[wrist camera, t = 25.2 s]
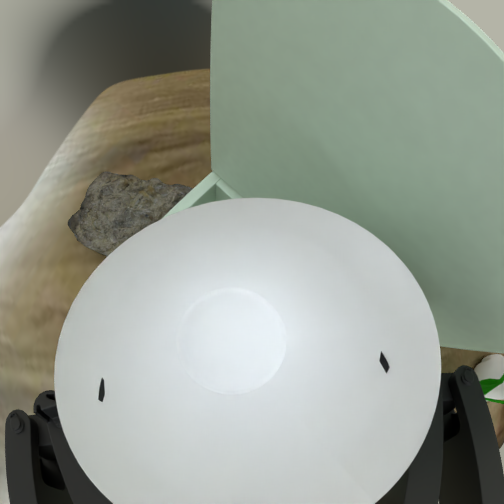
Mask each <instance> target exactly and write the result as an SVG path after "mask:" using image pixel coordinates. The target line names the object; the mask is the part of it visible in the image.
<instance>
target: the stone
mask: <svg viewBox="0 0 504 504" xmlns="http://www.w3.org/2000/svg"><path fill="white" fill-rule="evenodd" d="M191 190H192V188H190V187H186V186H184V185H181V184H174V185H166V184H163V183H162V182H161V181H160V180H159V179H158V178H153V179H150V180H148V181H144V180H140V179H138V178H137V177H136V176H134V175H118V174H113V173H111V172H103V173H101V174H100V175H99V176H98V177H97V178H96V179H95V180H94V181H93V182H92V184H91V185H90V186H89V188H88V190H87V192H86V196H85V199H84V201H83V202H82V204H81V208H80V210H78V211H77V212H76V213H75V214H74V215H72V217H71V218H70V219H69V221H68V226H69V227H70V229H71V230H72V231H73V233H74V234H75V236H76V238H77V240H78V241H79V242H81V243H82V244H83V245H84V246H86V247H88V248H90V249H92V250H95V251H96V252H98V253H100V254H103V255H106V256H107V257H108V256H109V255H110V254H111V253H112V252H113V251H114V250H115V249H116V248H118V247H119V246H120V245H121V244H122V243H124V242H125V241H126V240H127V239H129V238H130V237H132V236H133V235H135V234H136V233H138V232H139V231H141V230H142V229H144V228H146V227H147V226H149V225H151V224H153V223H155V222H157V221H159V220H161V219H162V218H163V217H164V216H165V215H166V214H167V213H168V212H169V211H170V210H171V209H172V208H173V207H174V206H175V205H176V204H177V203H178V202H180V201H181V200H182V199H183V198H184V197H185V196H186V195H187V194H188V193H189V192H190V191H191Z"/></svg>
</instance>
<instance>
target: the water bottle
mask: <svg viewBox="0 0 504 504" xmlns="http://www.w3.org/2000/svg"><path fill="white" fill-rule="evenodd" d="M474 371H475V373H476V374H477V376H478V379H479V381H481V380H484V379H489V378H491V379H500V378H501V377H502V375H503V374H504V357H503V356H502V355H500V354H493V355H489V356H486V357H485V358H483V359H482V362H481V363H480V364H478V365H477V366H476V367H475V369H474ZM484 396H485V398H490V399H495V400H497V399H504V381H503V383H502V384H500V385H499V386H497V387H496V388H494V389H493V390H491V391H490V392H489V393H487V394H486V395H484ZM486 401H487V400H486Z"/></svg>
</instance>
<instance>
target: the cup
mask: <svg viewBox="0 0 504 504" xmlns="http://www.w3.org/2000/svg"><path fill="white" fill-rule="evenodd" d="M381 351H382V353H383V355H384V356H385V358H386V360H387V362H388V364H389V367H390V368H389V370H388V372H387V374H386V372H385V370H384V368H383V367H382V365H381V363H380V361H379V360H380V354H381ZM102 378H103V379H104V388H105V395H104V399H103V402H101V401H100V400H98V396H99V387H100V383H101V379H102ZM440 381H441V354H440V344H439V338H438V332H437V329H436V325H435V321H434V317H433V315H432V312H431V309H430V307H429V304H428V302H427V300H426V297H425V295H424V294H423V292H422V290H421V288H420V286H419V284H418V283H417V281H416V280H415V278H414V276H413V275H412V273H411V272H410V271H409V269H408V268H407V267H406V266H405V264H404V263H403V262H402V261H401V260H400V258H399V257H398V256H397V255H396V254H395V253H394V252H393V251H392V250H391V249H390V248H389V247H388V246H387V245H385V244H384V243H383V242H382V241H381V240H379V239H378V238H377V237H376V236H374V235H373V234H372V233H370V232H369V231H367V230H366V229H364V228H362V227H361V226H359V225H358V224H356V223H354V222H352V221H350V220H348V219H346V218H344V217H342V216H340V215H338V214H336V213H333V212H330V211H328V210H325V209H323V208H320V207H316V206H312V205H309V204H305V203H301V202H296V201H290V200H283V199H274V198H237V199H228V200H222V201H215V202H210V203H206V204H202V205H198V206H195V207H191V208H188V209H185V210H182V211H180V212H177V213H174V214H172V215H169V216H167V217H165V218H163V219H161V220H159V221H157V222H155V223H153V224H151V225H149V226H147V227H146V228H144V229H142V230H141V231H139V232H138V233H136V234H135V235H133V236H132V237H130V238H129V239H127V240H126V241H125V242H124V243H122V244H121V245H120V246H119V247H118V248H116V249H115V250H114V251H113V252H112V253H111V254H110V255H109V256H108V257H107V258H106V259H105V260H104V261H103V262H102V263H101V264H100V265H99V266H98V267H97V268H96V269H95V270H94V272H93V273H92V274H91V276H90V277H89V278H88V280H87V281H86V282H85V284H84V285H83V286H82V288H81V290H80V291H79V293H78V295H77V296H76V298H75V300H74V302H73V303H72V306H71V308H70V310H69V312H68V314H67V317H66V319H65V321H64V325H63V328H62V331H61V334H60V338H59V341H58V347H57V352H56V358H55V371H54V385H55V398H56V404H57V410H58V415H59V418H60V422H61V425H62V429H63V432H64V434H65V437H66V439H67V441H68V444H69V446H70V448H71V450H72V452H73V454H74V456H75V458H76V459H77V461H78V463H79V465H80V466H81V468H82V469H83V470H84V472H85V473H86V475H87V476H88V478H89V479H90V480H91V481H92V482H93V484H94V485H95V486H96V487H97V488H98V489H99V491H100V492H101V493H102V494H103V495H104V496H105V497H107V498H108V499H109V500H110V501H111V502H112V503H113V504H375V503H376V502H377V501H378V500H379V499H381V498H382V497H383V496H384V495H385V494H386V493H387V492H388V491H389V490H390V489H391V488H392V487H393V486H394V485H395V483H396V482H397V481H398V480H399V479H400V478H401V476H402V475H403V474H404V472H405V471H406V470H407V468H408V467H409V466H410V464H411V463H412V461H413V459H414V458H415V456H416V455H417V453H418V451H419V449H420V447H421V446H422V444H423V442H424V440H425V437H426V435H427V433H428V430H429V428H430V425H431V422H432V419H433V416H434V413H435V409H436V405H437V401H438V396H439V389H440Z"/></svg>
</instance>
